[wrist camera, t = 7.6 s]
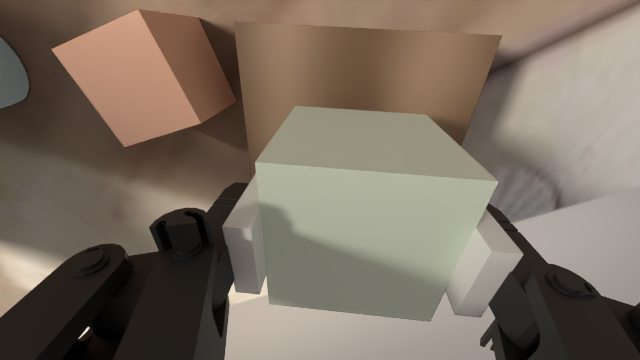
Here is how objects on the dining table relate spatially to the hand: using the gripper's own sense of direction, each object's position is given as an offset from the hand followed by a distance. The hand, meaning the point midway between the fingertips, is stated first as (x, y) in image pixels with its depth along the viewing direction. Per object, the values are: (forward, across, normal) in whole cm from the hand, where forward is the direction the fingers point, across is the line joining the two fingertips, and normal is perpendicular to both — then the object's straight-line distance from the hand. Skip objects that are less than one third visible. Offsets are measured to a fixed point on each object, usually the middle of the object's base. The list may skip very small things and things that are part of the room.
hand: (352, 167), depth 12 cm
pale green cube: (0, 0, 0) cm, 0 cm away
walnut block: (+6, 0, 0) cm, 6 cm away
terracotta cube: (+6, -11, +3) cm, 13 cm away
